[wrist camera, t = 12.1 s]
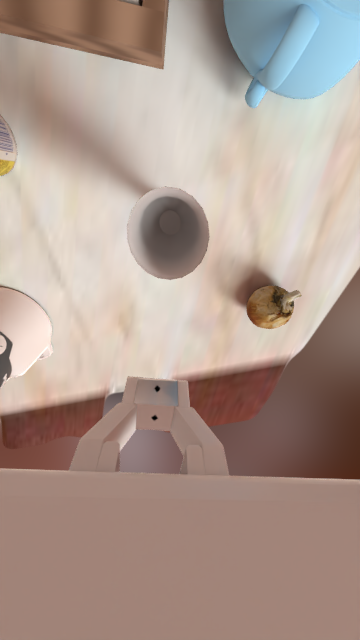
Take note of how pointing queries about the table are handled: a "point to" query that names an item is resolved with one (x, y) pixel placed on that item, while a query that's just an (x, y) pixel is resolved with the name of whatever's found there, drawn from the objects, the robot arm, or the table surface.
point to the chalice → (168, 233)
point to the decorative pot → (294, 44)
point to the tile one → (133, 2)
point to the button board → (92, 26)
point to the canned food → (7, 148)
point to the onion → (271, 306)
